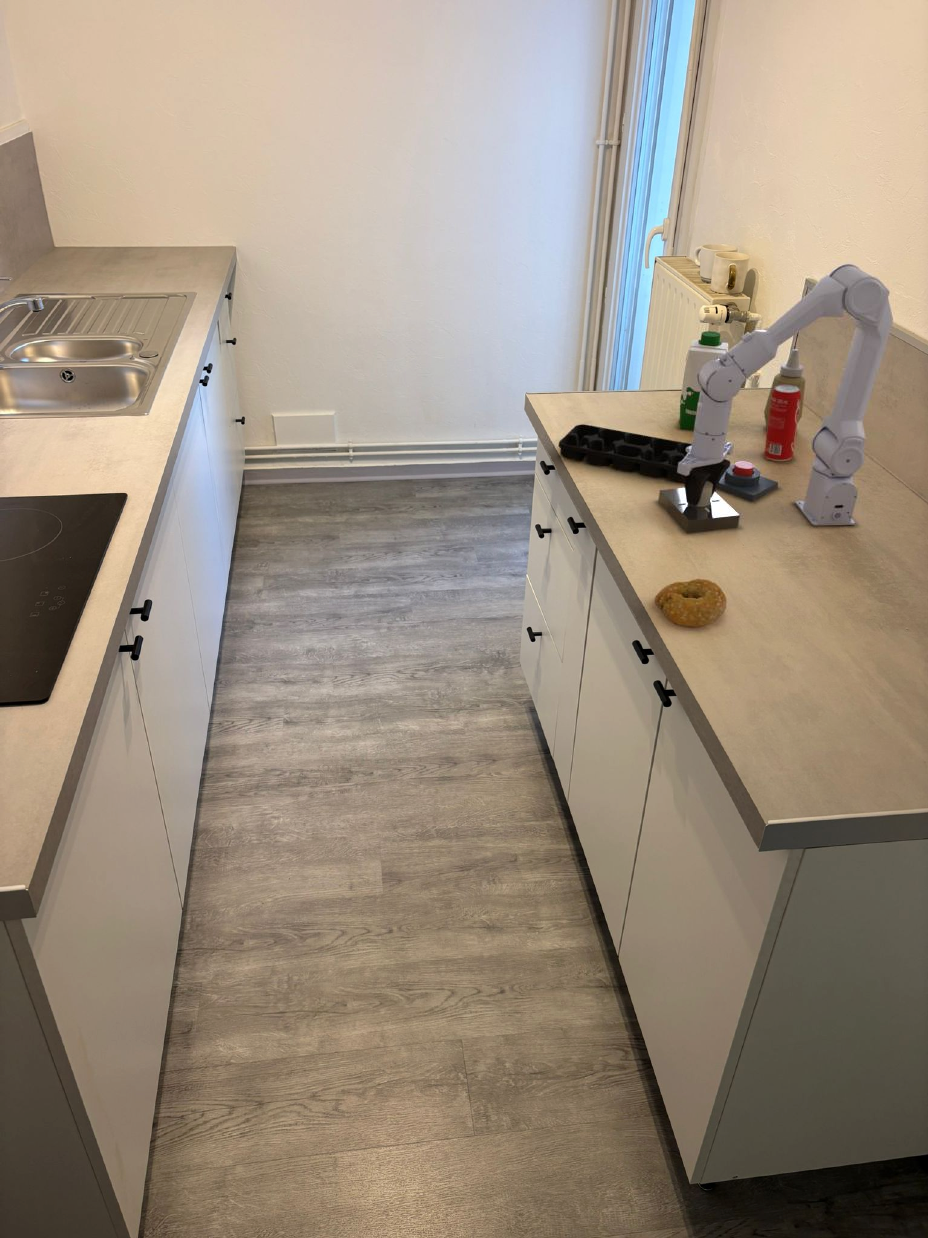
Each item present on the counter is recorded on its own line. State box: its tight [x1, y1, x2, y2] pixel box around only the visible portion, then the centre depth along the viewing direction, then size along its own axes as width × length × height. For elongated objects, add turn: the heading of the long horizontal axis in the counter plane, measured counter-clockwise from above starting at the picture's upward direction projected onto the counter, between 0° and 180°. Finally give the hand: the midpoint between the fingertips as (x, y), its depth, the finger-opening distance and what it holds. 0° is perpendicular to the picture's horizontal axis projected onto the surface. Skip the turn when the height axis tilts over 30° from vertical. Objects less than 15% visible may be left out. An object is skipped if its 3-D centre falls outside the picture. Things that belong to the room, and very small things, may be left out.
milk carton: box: [679, 330, 729, 432], centre depth 211 cm, size 9×9×20 cm
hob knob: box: [691, 481, 713, 507], centre depth 176 cm, size 4×4×4 cm
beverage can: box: [764, 384, 801, 462], centre depth 198 cm, size 6×6×15 cm
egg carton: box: [558, 423, 692, 484], centre depth 198 cm, size 18×30×4 cm, turn 76°
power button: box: [734, 460, 755, 476], centre depth 188 cm, size 4×4×2 cm
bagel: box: [654, 578, 727, 628], centre depth 149 cm, size 10×11×5 cm
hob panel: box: [657, 487, 741, 534], centre depth 178 cm, size 13×10×3 cm
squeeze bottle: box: [763, 348, 806, 429], centre depth 210 cm, size 8×8×18 cm
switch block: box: [716, 464, 779, 503], centre depth 189 cm, size 11×9×3 cm
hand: (699, 499), depth 177 cm, fingers closed on hob knob, 4 cm apart
